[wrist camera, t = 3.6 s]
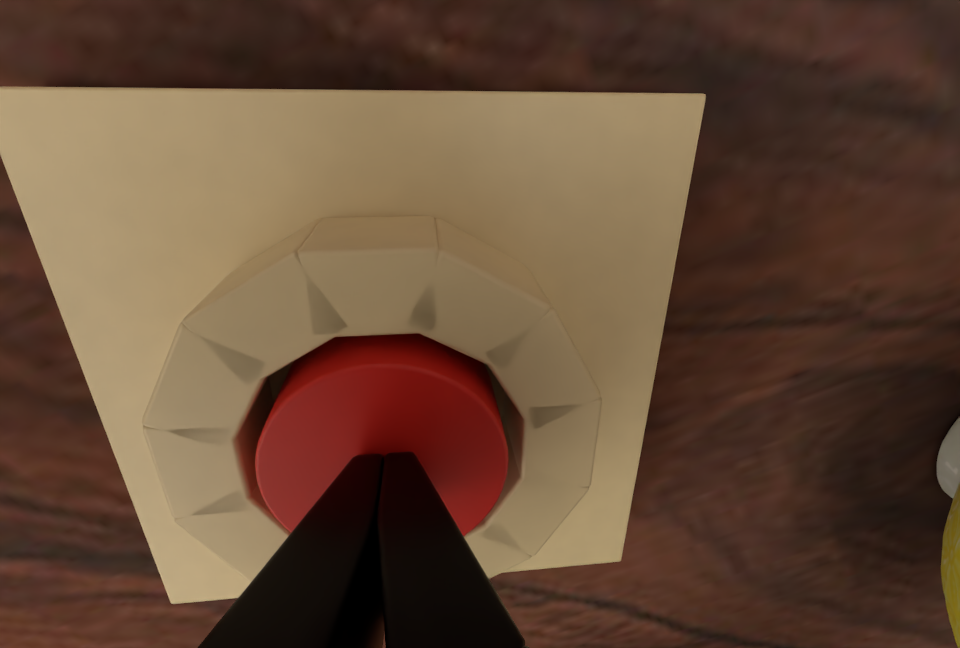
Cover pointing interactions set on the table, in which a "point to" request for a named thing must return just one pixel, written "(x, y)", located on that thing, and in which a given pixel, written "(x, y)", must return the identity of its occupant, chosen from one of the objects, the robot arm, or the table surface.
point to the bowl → (951, 524)
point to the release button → (384, 423)
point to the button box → (357, 284)
